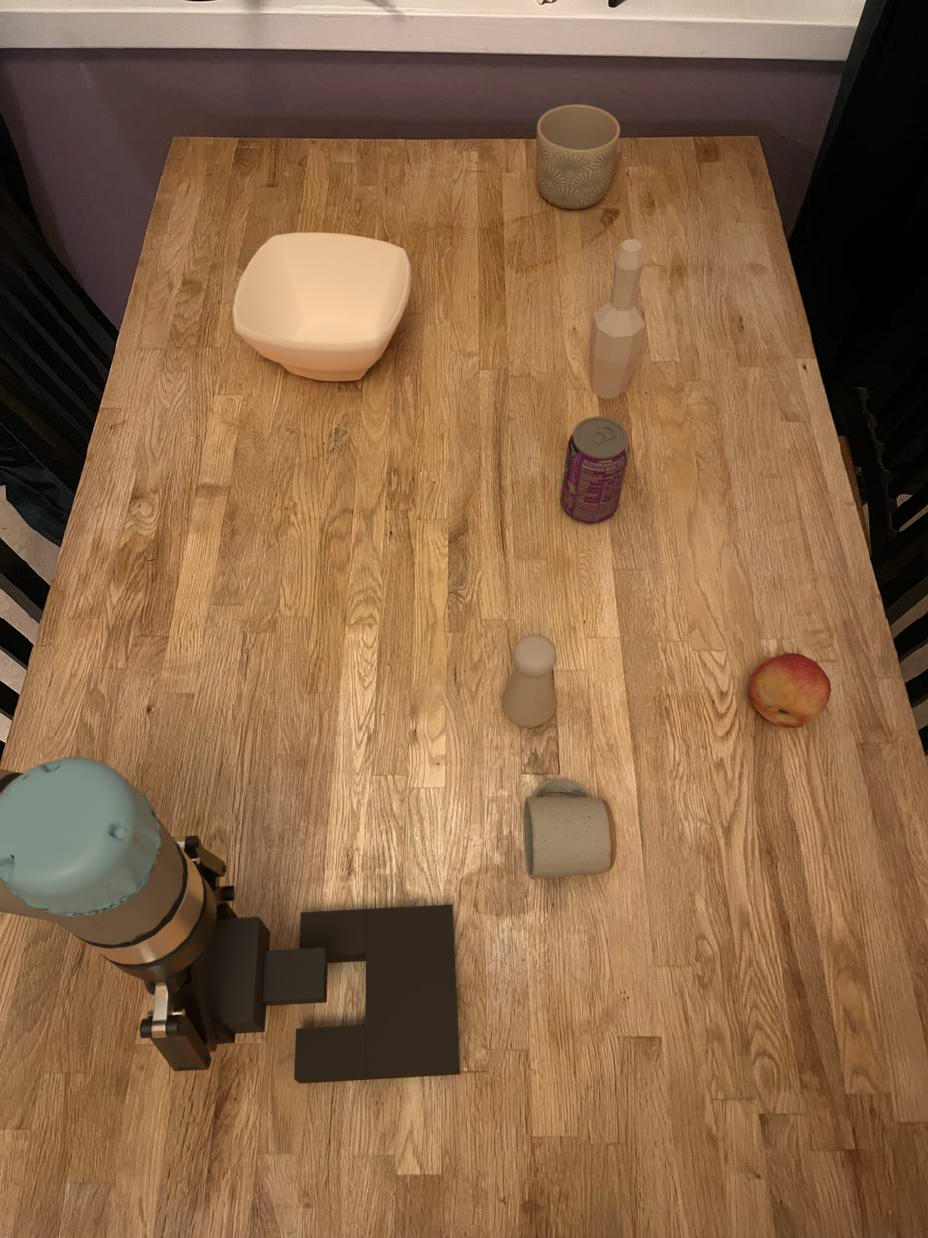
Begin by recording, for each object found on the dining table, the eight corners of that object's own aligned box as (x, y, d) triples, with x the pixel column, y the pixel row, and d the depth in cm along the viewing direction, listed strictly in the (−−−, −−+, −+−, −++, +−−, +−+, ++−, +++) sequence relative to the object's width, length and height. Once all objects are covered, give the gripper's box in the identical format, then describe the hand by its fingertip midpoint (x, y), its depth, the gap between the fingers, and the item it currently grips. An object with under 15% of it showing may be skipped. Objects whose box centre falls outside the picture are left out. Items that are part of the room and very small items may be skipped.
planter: (573, 161, 156) (579, 94, 147) (627, 196, 151) (637, 129, 142) (516, 190, 152) (519, 123, 143) (570, 227, 147) (577, 161, 138)
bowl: (396, 423, 125) (390, 354, 115) (232, 403, 127) (213, 334, 117) (426, 310, 137) (423, 240, 127) (276, 294, 139) (262, 223, 129)
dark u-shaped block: (299, 1084, 83) (294, 1079, 81) (305, 921, 91) (300, 912, 88) (459, 1074, 83) (459, 1070, 81) (452, 913, 91) (452, 904, 88)
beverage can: (589, 473, 120) (601, 404, 110) (629, 507, 117) (645, 439, 107) (548, 501, 118) (555, 433, 108) (587, 536, 115) (599, 469, 105)
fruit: (727, 703, 103) (746, 667, 96) (774, 663, 106) (795, 625, 99) (783, 754, 100) (807, 720, 93) (830, 712, 102) (856, 675, 96)
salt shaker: (545, 742, 100) (555, 683, 90) (493, 726, 101) (497, 666, 91) (560, 696, 103) (572, 633, 92) (510, 681, 104) (515, 617, 93)
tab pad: (178, 1037, 78) (161, 1026, 74) (188, 936, 82) (173, 921, 78) (326, 1028, 78) (318, 1017, 74) (328, 929, 82) (320, 913, 78)
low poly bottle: (575, 379, 129) (593, 237, 111) (615, 364, 131) (640, 222, 112) (599, 409, 126) (623, 269, 108) (640, 394, 128) (670, 252, 109)
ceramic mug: (612, 883, 92) (623, 856, 86) (528, 890, 92) (533, 863, 86) (595, 782, 98) (604, 749, 92) (516, 788, 98) (520, 755, 91)
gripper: (109, 757, 66) (190, 863, 85) (56, 1091, 55) (163, 1126, 74) (218, 751, 66) (274, 858, 85) (187, 1083, 55) (260, 1120, 74)
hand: (222, 982), depth 80 cm, fingers closed on tab pad, 8 cm apart
